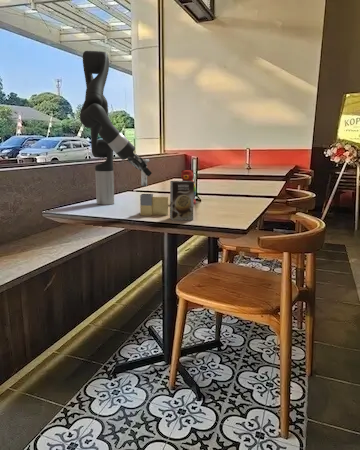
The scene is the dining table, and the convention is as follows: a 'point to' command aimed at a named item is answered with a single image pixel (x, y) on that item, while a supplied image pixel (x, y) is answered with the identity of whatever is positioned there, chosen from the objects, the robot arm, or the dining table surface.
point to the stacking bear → (188, 179)
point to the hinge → (153, 205)
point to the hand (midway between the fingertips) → (148, 174)
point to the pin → (144, 175)
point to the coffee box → (181, 200)
